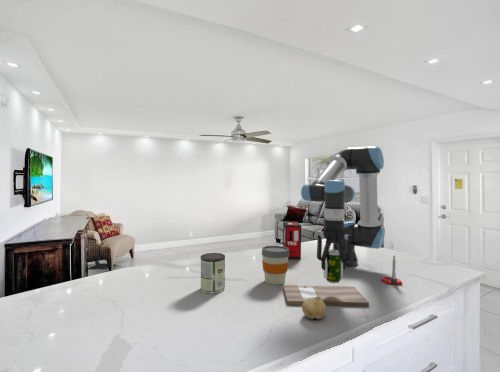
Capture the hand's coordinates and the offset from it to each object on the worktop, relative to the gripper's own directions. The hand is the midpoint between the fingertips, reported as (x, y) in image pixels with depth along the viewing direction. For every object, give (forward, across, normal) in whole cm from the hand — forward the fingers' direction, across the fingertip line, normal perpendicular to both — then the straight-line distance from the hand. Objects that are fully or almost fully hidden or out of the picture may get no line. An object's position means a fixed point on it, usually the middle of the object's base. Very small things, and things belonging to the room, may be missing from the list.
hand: (333, 277), depth 115 cm
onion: (+8, -11, -17) cm, 22 cm away
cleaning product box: (+8, -8, +63) cm, 64 cm away
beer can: (+2, 0, 0) cm, 2 cm away
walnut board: (+8, -4, 0) cm, 9 cm away
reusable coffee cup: (+8, -22, +17) cm, 29 cm away
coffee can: (+8, -49, +6) cm, 50 cm away
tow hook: (+8, +32, +20) cm, 39 cm away
